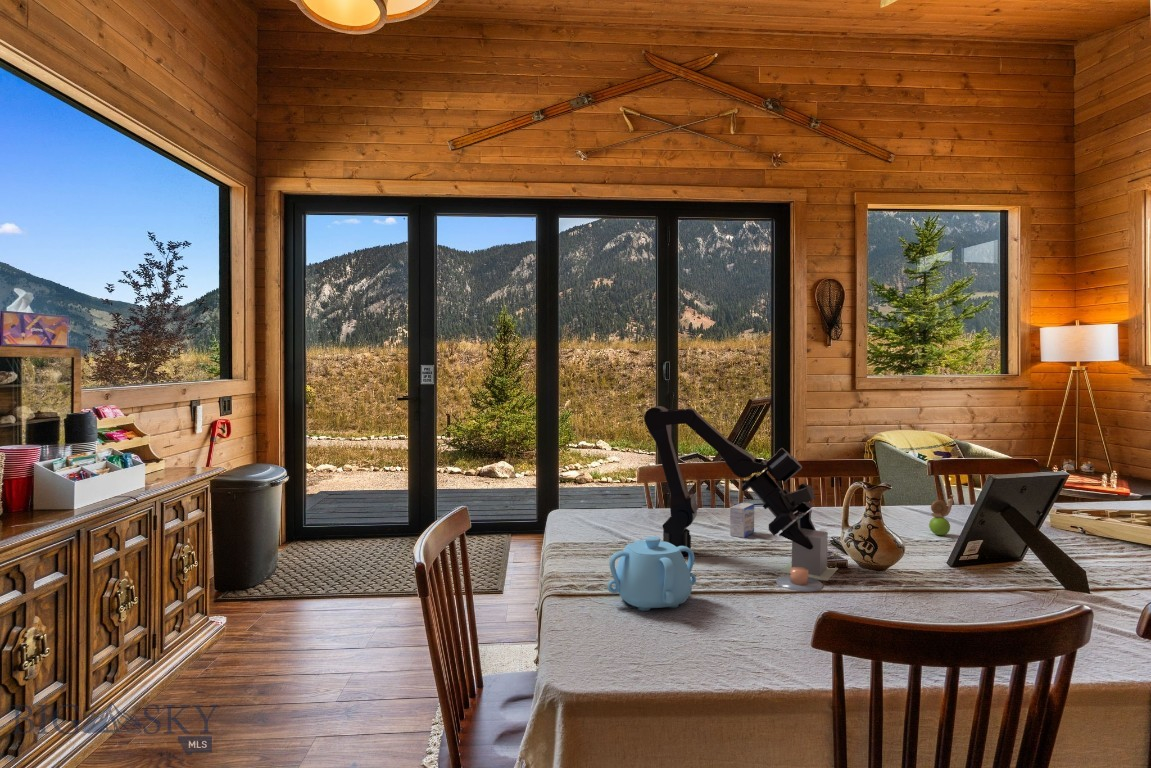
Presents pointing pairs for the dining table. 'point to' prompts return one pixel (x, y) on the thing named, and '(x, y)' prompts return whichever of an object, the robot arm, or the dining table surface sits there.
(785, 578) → the knob on round base
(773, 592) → the dining table surface
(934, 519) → the snail figurine
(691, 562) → the decorative pot
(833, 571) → the mat
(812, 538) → the grey block
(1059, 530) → the dining table surface
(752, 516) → the medicine box
